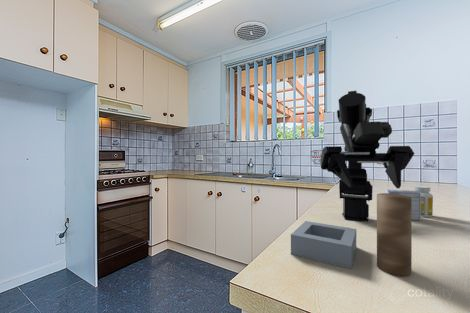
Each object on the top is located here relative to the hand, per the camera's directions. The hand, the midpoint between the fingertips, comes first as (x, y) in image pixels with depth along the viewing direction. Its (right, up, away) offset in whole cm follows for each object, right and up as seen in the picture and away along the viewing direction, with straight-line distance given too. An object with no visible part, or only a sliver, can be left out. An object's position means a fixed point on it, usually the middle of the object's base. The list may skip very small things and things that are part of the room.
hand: (374, 186), depth 47 cm
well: (-10, -14, 0) cm, 17 cm away
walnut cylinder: (-1, -14, -7) cm, 15 cm away
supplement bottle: (+33, -13, +27) cm, 45 cm away
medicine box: (+25, -14, +25) cm, 38 cm away
